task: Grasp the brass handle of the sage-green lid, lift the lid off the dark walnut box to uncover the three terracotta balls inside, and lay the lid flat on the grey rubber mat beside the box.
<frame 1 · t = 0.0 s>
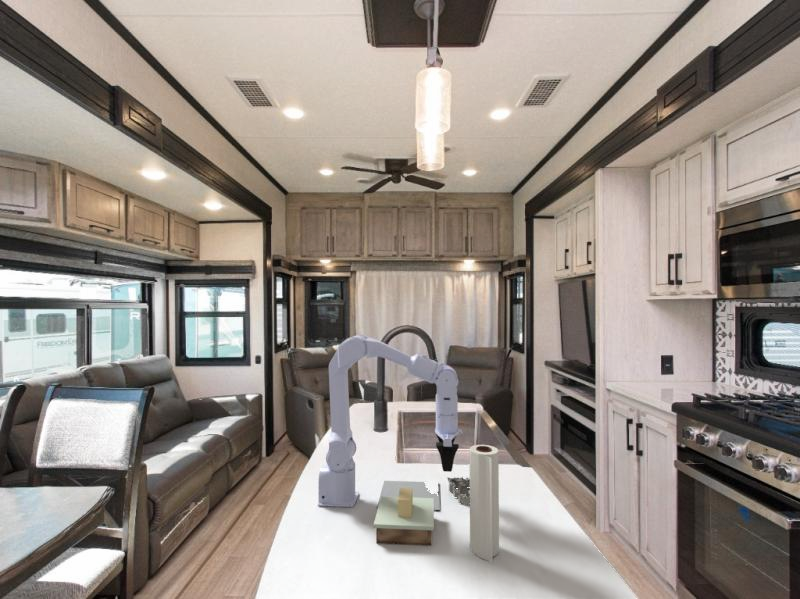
hand: (446, 465, 107), 10 cm above the counter, tool pointing down, fingers open, 7 cm apart
box base: (405, 529, 94), on the counter
lid: (405, 513, 94), point 4 cm above the counter, touching box base
mat: (409, 495, 111), on the counter
paper towel roll: (483, 552, 86), on the counter
egg carton: (465, 497, 111), on the counter
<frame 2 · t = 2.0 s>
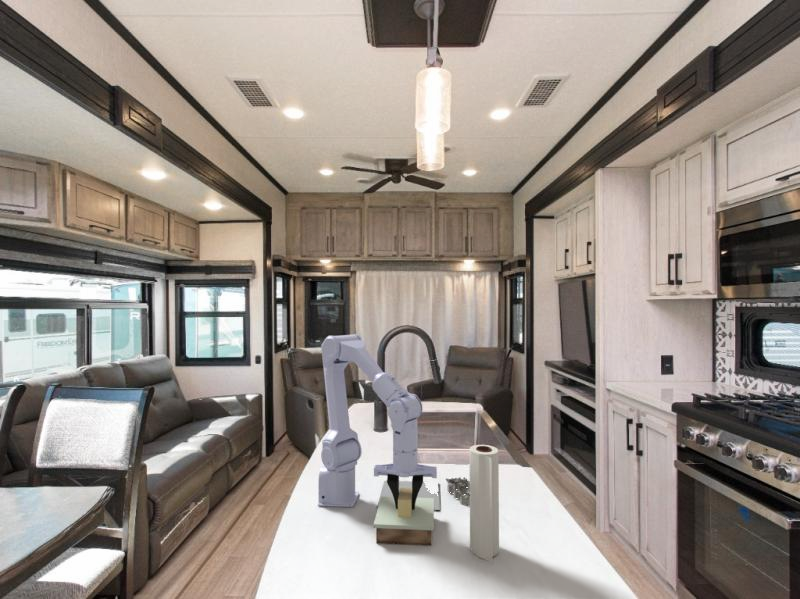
hand: (405, 507, 94), 5 cm above the counter, tool pointing down, fingers closed on lid, 3 cm apart
lid: (405, 513, 94), point 4 cm above the counter, touching box base, gripper
everything else where it was.
when the fingers open (3 cm above the counter, at t = 5.9 s): lid stays where it is, resting on mat.
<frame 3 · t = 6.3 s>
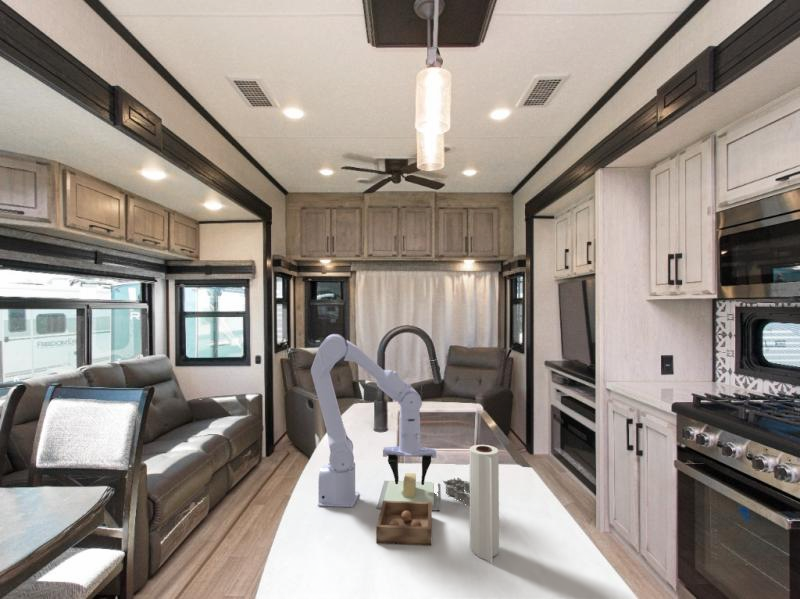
hand: (409, 482, 111), 3 cm above the counter, tool pointing down, fingers open, 6 cm apart
lid: (409, 495, 111), resting on mat
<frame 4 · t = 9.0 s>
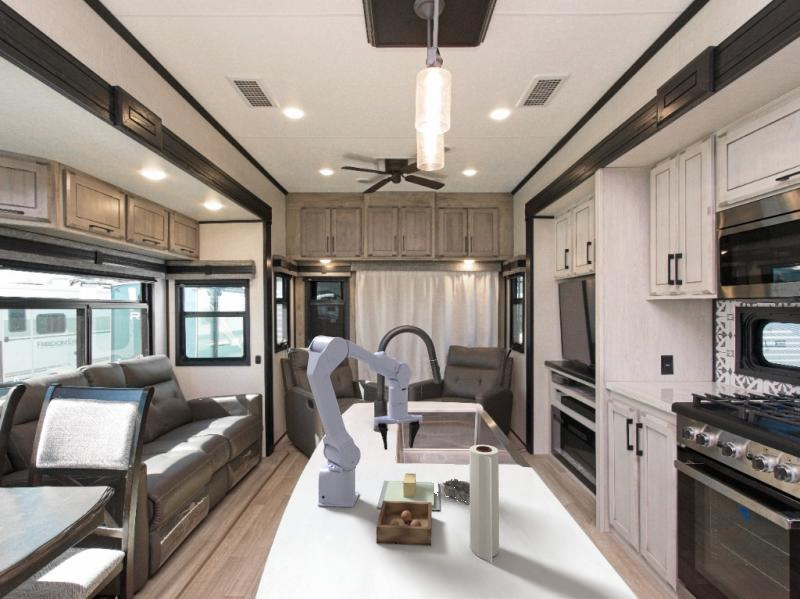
hand: (398, 447, 122), 9 cm above the counter, tool pointing down, fingers open, 7 cm apart
at the end: lid inside the target area on the mat (0.6 cm from its centre), point 0.4 cm above the mat's base; lid tilted 0°; the gripper is holding nothing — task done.
